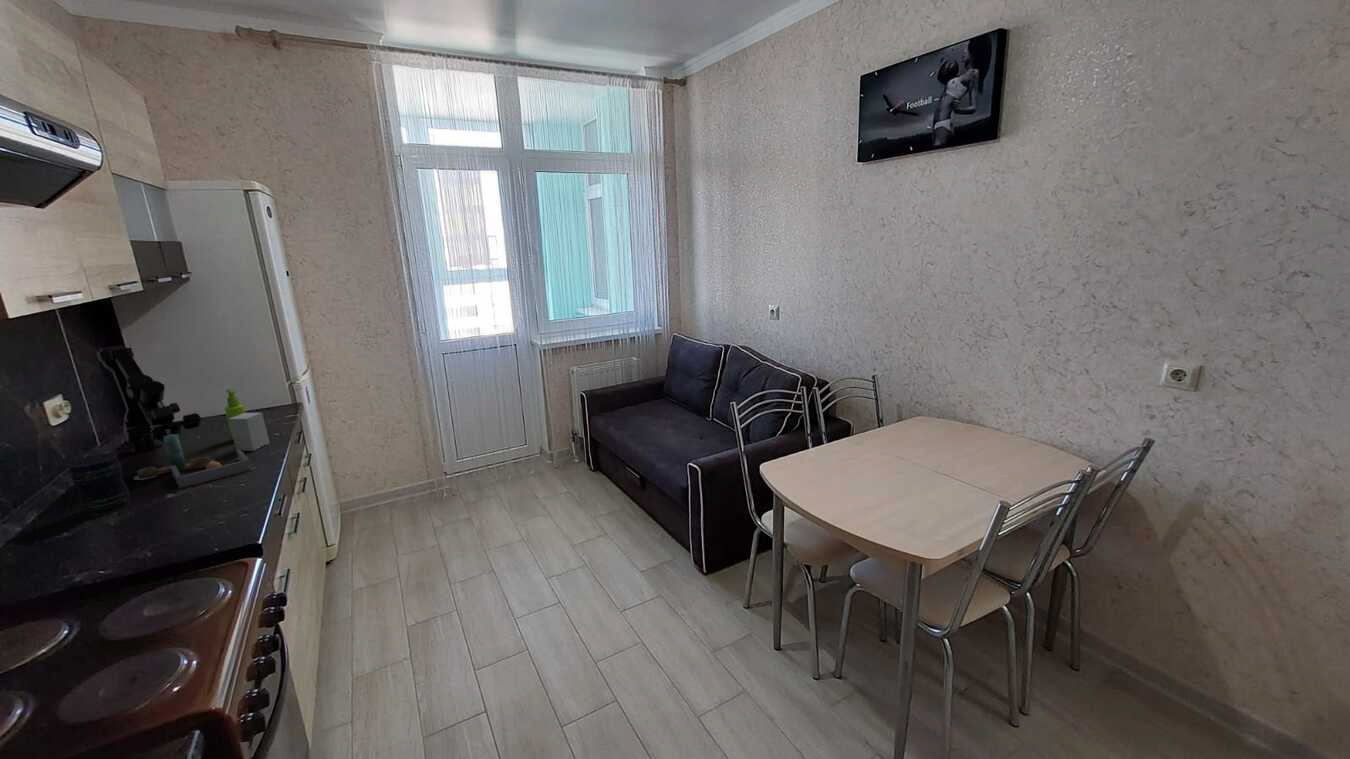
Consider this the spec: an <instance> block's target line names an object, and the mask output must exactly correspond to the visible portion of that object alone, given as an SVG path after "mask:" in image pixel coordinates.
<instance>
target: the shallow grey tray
mask: <svg viewBox="0 0 1350 759" xmlns="http://www.w3.org/2000/svg"><path fill="white" fill-rule="evenodd" d="M235 452H236V456H237V459H238V461H236V462H232V463H227V464H224V465H221V466H219V467H215V468H211V469H207V470H206V469H204V470H199V471H196V472H191V473H188V474H183V475H181V474H180V471H178V469H177V467H176V465H173V466H171V465H170V466H171V470H172V472H171V474H172V477H173V478H174V481H175V482H176V485H177V487H178V489H179V488H180V489H182V488H181V487H184V488H187V487H186V486H188V487H190V486H189V485H192V486H194V484H195V485H198V484H202V483H205V482H206V483H207V482H211V481H213V480H214V481H215V480H217V479H221V478H225V477H228V476H229V477H230V476H232V475H236V474H241V473H244V472H248V471H252V470H253V468H252V464H251V460H250V459H249V458H248V457H247V456H246V454H245V452H244V451H241V450H235Z"/></svg>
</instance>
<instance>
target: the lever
mask: <svg viewBox="0 0 1350 759" xmlns="http://www.w3.org/2000/svg"><path fill="white" fill-rule="evenodd" d="M163 439H164V442H163V443H164V445H165V449H166V454H167V457H168V459H169V463H170V466H163V467H158V468H157V467H156V466H148V467H144V468H141V469H138V470H137V471H136V472H137V476H138V477H139V478H146V477H150V476H153V475H156V474H162V473H163V474H166V473H167V474H168V473H172V470H171V466H173V465H176V467H177V469H178V471H179V472H182V471H185V470H188V469H191V470H196V469H200V468H201V469H202V468H206V465H207V464H208V463H210V462H213V461H215V459H214V458H210V456H204V457H199V458H194V459H193V458H192V459H189V462H187V463H186V461H185V456H184V452H183V450H182V445H181V442H180V439H179V434H172V435H169V434H168V435H167V436H165V437H163ZM163 474H162V475H163Z"/></svg>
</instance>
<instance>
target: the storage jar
mask: <svg viewBox="0 0 1350 759" xmlns="http://www.w3.org/2000/svg"><path fill="white" fill-rule="evenodd" d="M119 461H120V460H119V459H118V454H117V453H115V452H113V453H112V452H111V453H108V452H107V453H106V452H105V453H100V454H94V455H90V456H86V457H82V458H78V459H76V460H73V461H71V462H70V463H68V465H67V466H68V470H69V472H70V477H71V479H72V482H73V484H74V485H75V486H76V490H77V492H78V500H79V504H80V506H81V507H82V510H83V514H84V515H85V516H100V515H105V514H108V513H109V514H110V513H113V512H116V511H118V510H119V511H120V509H124V508H125V506H126V507H128V506H129V505H131V504H132V499H131V498H130V491H129V489H128V485H127V483H125V480H124V478H123V474H122V473H123V469H122V466H121V462H119ZM128 504H129V505H128Z"/></svg>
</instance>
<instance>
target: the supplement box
mask: <svg viewBox="0 0 1350 759" xmlns="http://www.w3.org/2000/svg"><path fill="white" fill-rule="evenodd" d="M228 420H229V423H230V427H231V431H232V435H233V439H234V441H233V442H234V446H235V449H236V450H243V451H242V452H254V450H255V451H257V450H259V449H258V448H260V447H262V446H264V445H266V446H268V445H270V444H269V443H270V440H269V435H268V431H267V427H266V423H265V419H264V414H263V412H246V413H243V414H240V415H238V416H235V417H232V418H230V419H227V421H228ZM229 423H228V424H229ZM230 427H229V428H230ZM231 431H230V432H231ZM232 435H231V436H232ZM233 439H232V440H233ZM267 444H268V445H267ZM264 447H265V446H264ZM262 448H263V447H262ZM256 449H257V450H256ZM260 449H261V448H260ZM236 450H235V451H236ZM245 450H246V451H245Z"/></svg>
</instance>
